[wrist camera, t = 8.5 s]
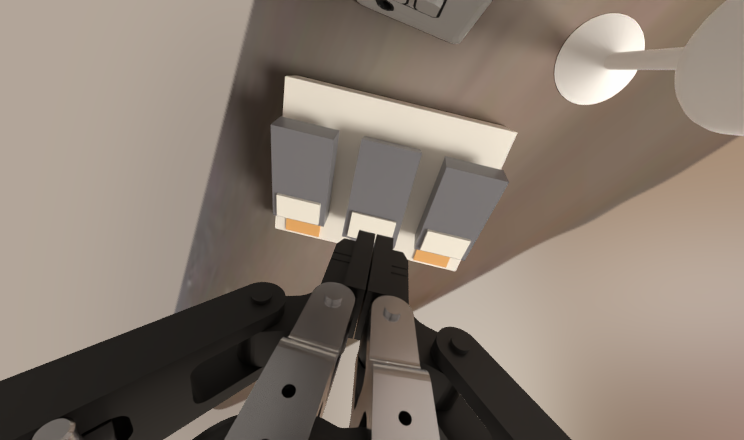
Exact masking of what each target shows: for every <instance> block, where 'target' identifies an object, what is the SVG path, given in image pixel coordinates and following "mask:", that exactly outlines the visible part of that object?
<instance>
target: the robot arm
mask: <svg viewBox="0 0 744 440" xmlns="http://www.w3.org/2000/svg"><path fill="white" fill-rule="evenodd" d="M374 240H375V243H374ZM393 240H394V238H392V237H387V236H383V235H379V234H377V235H376V239H375V233H370V232H366V231H362V230H359V232H358V236H357V239H356V241H354V240H350V239H346V238H344V239H342V240H341V241H340V242H338V243H337V244H336V247H335V249H334V252H333V255H332V257H331V260H330V262H329V265H328V267H327V270H326V273H325V275H324V278H323V280H322V283H321V285H319V286H317V287H316V288H315V289H314V290H313V292H312V293H310V294H307V295H302V296H285V293H284V291H283V290H282V289H281V288H280V287H279V286H277V285H275V284H273V283H268V282H258V283H253V284H250V285H248V286H245V287H243V288H240V289H237V290H235V291H232V292H230V293H227V294H224V295H222V296H219V297H217V298H214V299H211V300H209V301H206V302H204V303H201V304H199V305H196V306H193V307H191V308H188V309H186V310H183V311H180V312H178V313H175V314H173V315H170V316H168V317H165V318H162V319H160V320H157V321H155V322H152V323H149V324H147V325H144V326H142V327H139V328H136V329H134V330H131V331H129V332H126V333H124V334H121V335H118V336H116V337H113V338H111V339H108V340H105V341H103V342H100V343H98V344H95V345H93V346H90V347H87V348H85V349H83V350H80V351H77V352H75V353H72V354H69V355H67V356H64V357H62V358H59V359H57V360H54V361H51V362H49V363H46V364H43V365H41V366H38V367H36V368H33V369H31V370H28V371H25V372H23V373H20V374H17V375H15V376H13V377H10V378H7V379H5V380H2V381H0V440H163V439H165V438H166V437H168V436H170V435H171V434H173V433H174V432H176V431H177V430H179V429H181V428H182V427H184V426H185V425H187V424H189V423H190V422H192V421H193V420H195V419H196V418H198V417H199V416H201V415H203V414H204V413H206V412H207V411H209V410H211V409H212V408H214V407H215V406H217V405H219V404H220V403H222V402H223V401H225V400H226V399H228V398H230V397H231V396H233V395H234V394H236V393H237V392H239V391H241V390H242V389H244V388H245V387H247V386H249V385H250V384H252V383H253V382H255V381H256V380H257V382H256V384H255V386H254V387H253V389H252V391H251V393H250V394H249V396H248V398H247V400H246V402H245V403H244V405H243V407H242V409H241V411H240V412H239V414H238V415H236V416H233V417H230V418H228V419H225V420H223V421H221V422H219V423H217V424H215V425H213V426H212V427H210V428H208V429H207V430H205V431H204V432H202V433H201V434H199V435H198V436H197V437H195V438H194V439H192V440H571V439H570V438H569V437H568V436H567V435H566V433H564V431H563V430H562V429H561V428H560V427H559V426H558V425H557V424H556V423H555V422H554V421H553V420H552V419H551V418H550V417H549V416H548V415H547V414H546V413H545V412H544V411H543V410H542V409H541V408H540V406H539V405H538V404H537V403H536V402H535V401H534V400H533V399H532V398H531V397H530V396H529V395H528V394H527V393H526V392H525V391H524V390H523V389H522V388H521V387H520V386H519V385H518V384H517V383H516V382H515V381H514V380H513V378H512V377H510V375H509V374H508V373H507V372H506V371H505V370H504V369H503V368H502V367H501V366H500V365H499V364H498V363H497V362H496V361H495V360H494V359H493V358H492V357H491V356H490V355H489V354H488V352H487V351H486V350H484V348H483V347H482V346H481V345H480V344H479V343H478V342H477V341H476V340H475V339H474V338H473V337H472V336H471V335H470V334H468V333H467V332H465V331H463V330H461V329H458V328H455V327H445V328H442V329H441V330H440V331H439V332H436V331H434V330H432V329H430V328H428V327H426V326H425V325H423V324H422V323H420V322H419V321H418V320H417V319H416V318H415V317H414V315H413V311H412V309H411V307H410V306H409V299H408V260H407V258H406V256H405V255H404V253H403V252H400V251H396V250H393ZM373 246H374V247H373ZM357 320H358V322H357ZM356 323H357V327H356ZM355 327H356V332H355V338H354V339H357V340H360V346H359V351H358V354H357V358H356V363H355V375H354V386H353V398H352V409H351V419H350V425H349V428H339V427H337V426H335V425H333V424H331V423H330V422H328V421H326V420H324V419H323V418H322V416H323V413H324V410H325V406H326V403H327V400H328V396H329V393H330V390H331V387H332V384H333V381H334V377H335V374H336V371H337V368H338V364H339V362H340V358H341V354H342V353H343V352H344V350H345V347H346V343H347V339H348V338H353V334H354V331H355ZM462 397H463V398H462ZM469 406H470V407H469ZM473 411H474V412H473ZM477 416H478V417H477ZM484 425H485V426H484Z"/></svg>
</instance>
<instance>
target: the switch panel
mask: <svg viewBox="0 0 744 440" xmlns="http://www.w3.org/2000/svg"><path fill="white" fill-rule="evenodd" d="M283 117H286V118H290V119H294V120H298V121H303V122H307V123H311V124H315V125H319V126H323V127H327V128H331V129H335V130H340V131H339V139H338V147H337V155H336V163H335V170H334V178H333V186H332V194H331V202H330V210H329V216H328V218H327V220H326V223H325V225H324V227H322V226H318V225H313V224H309V223H305V222H301V221H297V220H293V219H288V218H284V217H280V216H276V223H275V228H277V229H281V230H285V231H289V232H293V233H298V234H302V235H306V236H310V237H314V238H318V239H323V240H327V241H331V242H335V243H338V242H340V241H341V240H342V239H344V238H346V239H350V240H354V241H356V240H355V239H351V238H347V237H343V236H342V233H343V228H344V223H345V218H346V213H347V208H348V203H349V199H350V194H351V189H352V184H353V179H354V174H355V169H356V164H357V159H358V155H359V150H360V145H361V140H362V138H363V137H364V136H367V137H371V138H376V139H380V140H384V141H388V142H392V143H396V144H400V145H404V146H408V147H413V148H417V149H420V150H421V152H422V156H421V159H420V162H419V166H418V169H417V173H416V176H415V180H414V183H413V186H412V190H411V193H410V197H409V200H408V204H407V207H406V210H405V214H404V217H403V221H402V224H401V228H400V231H399V234H398V238H397V241H396V245H395V248H394V249H393V250H396V251H400V252H403V253H404V255H405V256H406V258H407V260H410V261H415V262H419V263H423V264H427V265H431V266H435V267H440V268H444V269H448V270H452V271H456V269H457V267H458V265H459V263H460V260H459V259H455V258H450V257H446V256H442V255H438V254H434V253H430V252H425V251H421V250H417V249H414V241H415V233H416V231H417V228H418V226H419V223H420V220H421V218H422V215H423V213H424V210H425V207H426V205H427V202H428V199H429V197H430V194H431V192H432V189H433V186H434V184H435V181H436V179H437V176H438V173H439V171H440V168H441V166H442V163H443V160H444V158H445V156H447V157H451V158H455V159H459V160H463V161H467V162H471V163H475V164H479V165H484V166H488V167H492V168H496V169H500V170H501V168H502V166H503V164H504V162H505V159H506V157H507V155H508V153H509V150H510V148H511V146H512V144H513V141H514V139H515V137H516V135H517V132H515V131H513V130H511V129H510V128H508V127H506V126H501V125H497V124H493V123H489V122H485V121H481V120H477V119H473V118H469V117H465V116H461V115H457V114H453V113H448V112H444V111H440V110H436V109H432V108H428V107H424V106H420V105H416V104H412V103H408V102H404V101H399V100H395V99H391V98H387V97H383V96H379V95H375V94H371V93H367V92H363V91H359V90H355V89H351V88H346V87H342V86H338V85H334V84H330V83H326V82H322V81H318V80H314V79H310V78H306V77H302V76H297V75H295V76H285V87H284V102H283ZM373 247H374V246H373Z"/></svg>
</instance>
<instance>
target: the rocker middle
mask: <svg viewBox="0 0 744 440" xmlns="http://www.w3.org/2000/svg"><path fill="white" fill-rule="evenodd" d="M421 156H422V152H421V150H420V149H417V148H413V147H408V146H404V145H400V144H396V143H392V142H388V141H384V140H380V139H376V138H371V137H367V136H364V137H363V138H362V140H361V145H360V150H359V155H358V159H357V164H356V169H355V174H354V179H353V184H352V189H351V194H350V199H349V203H348V208H347V213H346V218H345V223H344V228H343V233H342V236H343V237H347V238H351V239H355V240H356V239H357V236H358V232H359V230H362V231H366V232H370V233H375V239H376V235H377V234H379V235H383V236H387V237H392V238H394V240H393V249H394V248H395V245H396V241H397V238H398V234H399V231H400V228H401V224H402V221H403V217H404V214H405V210H406V207H407V204H408V200H409V197H410V193H411V190H412V186H413V183H414V180H415V176H416V173H417V169H418V166H419V162H420V159H421ZM374 243H375V240H374Z"/></svg>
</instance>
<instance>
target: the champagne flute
mask: <svg viewBox="0 0 744 440" xmlns="http://www.w3.org/2000/svg"><path fill="white" fill-rule="evenodd" d="M644 47H645V40H644V35H643V32H642V30H641V28H640V26H639V24H638V23H637V22H636V21H635V20H634V19H632V18H630V17H629V16H627V15H623V14H620V13H609V14H604V15H600V16H597V17H595V18H592V19H590V20H589V21H587V22H585V23H584V24H582V25H581V26H580V27H579V28H577V29H576V30H575V31H574V32H573V33H572V34H571V35H570V36H569V38H568V39H567V40H566V42H565V43H564V45H563V46H562V48H561V50H560V52H559V54H558V57H557V60H556V64H555V71H554V76H555V83H556V86H557V89H558V90H559V92H560V94H561V95H562V96H563V97H564V98H565V99H567V100H568V101H570V102H572V103H576V104H579V105H590V104H596V103H599V102H602V101H605V100H607V99H609V98H611V97H612V96H614V95H615V94H617V93H618V92H619V91H621V90H622V89H623V88H624V87H625V86H626V85H627V84H628V83H629V82H630V80H631V79H632V78H633V77H634V75H635V73H636V72H637V70H676V71H675V91H676V96H677V99H678V101H679V103H680V105H681V107H682V109H683V111H684V112H685V114H686V115H687V116H688V117H689V118H690V119H691V120H692V121H693V122H695V123H696V124H698V125H700V126H702V127H704V128H705V129H707V130H710V131H713V132H717V133H721V134H730V135H740V136H744V0H726V1H725V2H724V3H723V4H722V5H720V6H719V7H718V8H717V9H716V10H715V11H714V12H713V13H712V14H711V15H710V16H709V17H707V18H706V20H705V21H704V22H703V23H702V24H701V26H700V27H699V28H698V29H697V30H696V31H695V33H694V34H693V35H692V37H691V38H690V40H689V41H688V43H687V44H686V46H685V47H679V48H666V49H654V50H644Z"/></svg>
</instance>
